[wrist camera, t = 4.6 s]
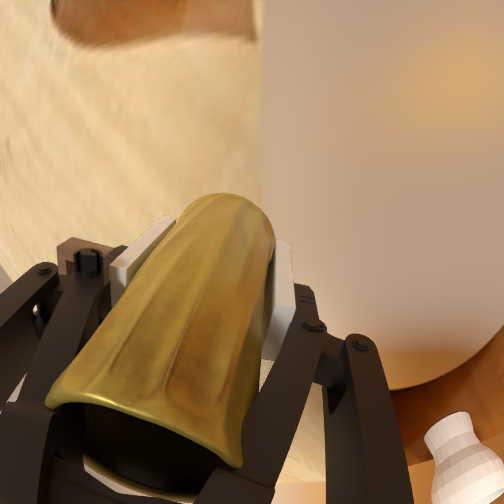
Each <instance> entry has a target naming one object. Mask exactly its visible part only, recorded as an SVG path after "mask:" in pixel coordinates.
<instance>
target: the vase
mask: <svg viewBox="0 0 504 504" xmlns="http://www.w3.org/2000/svg"><path fill="white" fill-rule="evenodd" d="M274 246H275V235H274V231H273V228H272V226H271V223H270V221H269V219H268V217H267V216H266V215H265V213H264V212H263V211H262V210H261V209H260V208H258V207H257V206H256V205H255V204H253V203H252V202H251V201H249V200H248V199H246V198H244V197H241V196H238V195H234V194H229V193H216V194H211V195H207V196H204V197H201V198H199V199H197V200H195V201H194V202H193V203H191V204H190V205H189V206H188V207H187V208H186V209H185V211H184V212H183V213H182V215H181V216H180V218H179V219H178V222H177V223H176V224H175V225H174V226H173V228H172V229H171V230H170V231H169V232H168V234H167V235H166V236H165V238H164V239H163V240H162V241H161V242H160V243H159V245H158V246H157V247H156V248H155V249H154V250H153V252H152V253H151V254H150V255H149V257H148V258H147V259H146V261H145V262H144V263H143V264H142V266H141V267H140V268H139V269H138V271H137V272H136V274H135V276H134V277H133V279H132V281H131V282H130V284H129V285H128V287H127V288H126V290H125V291H124V293H123V294H122V296H121V297H120V299H119V300H118V302H117V303H116V304H115V306H114V307H113V308H112V310H111V311H110V312H109V314H108V315H107V317H106V318H105V319H104V321H103V322H102V323H101V325H100V326H99V327H98V329H97V330H96V332H95V333H94V334H93V336H92V337H91V338H90V340H89V341H88V342H87V343H86V345H85V346H84V347H83V349H82V350H81V351H80V352H79V354H78V355H77V356H76V357H75V359H74V360H73V361H72V362H71V364H70V365H69V366H68V367H67V368H66V369H65V370H64V371H63V373H62V374H61V375H60V376H59V377H58V379H57V380H56V381H55V383H54V384H53V386H52V387H51V390H50V392H49V394H48V395H47V397H46V400H45V405H46V406H47V407H49V408H51V409H57V408H58V407H59V406H60V405H62V404H63V403H69V402H83V403H84V411H85V441H84V450H83V463H84V464H85V465H87V466H88V467H89V468H91V469H92V470H94V471H95V472H97V473H99V474H100V475H102V476H104V477H106V478H108V479H110V480H112V481H114V482H116V483H118V484H120V485H122V486H124V487H126V488H129V489H131V490H134V491H137V492H139V493H142V494H145V495H149V496H152V497H159V498H163V499H166V500H170V501H176V502H186V503H194V501H195V500H196V498H197V497H198V495H199V494H200V492H201V490H202V489H203V487H204V485H205V484H206V482H207V481H208V479H209V477H210V476H211V474H212V473H213V471H214V470H215V468H216V467H218V466H219V464H220V463H221V461H222V460H224V461H225V462H226V464H227V465H228V466H229V467H232V468H235V469H239V468H241V467H242V464H243V459H242V452H241V427H242V424H243V422H244V420H245V418H246V417H247V415H248V413H249V411H250V409H251V407H252V405H253V403H254V401H255V400H256V398H257V396H258V394H259V380H260V367H261V353H262V334H263V320H264V309H265V302H266V290H267V281H268V273H269V267H270V261H271V257H272V254H273V250H274Z"/></svg>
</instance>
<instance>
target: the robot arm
mask: <svg viewBox="0 0 504 504" xmlns="http://www.w3.org/2000/svg"><path fill="white" fill-rule="evenodd" d="M175 224H176V218H173V217H168V216H163V217H162V218H161V219H160V220H158V221H157V222H156V223H155V224H154V225H153V226H151V227H150V228H149V229H148V230H147V231H146V232H145V233H144V234H142V235H141V236H140V237H139V238H138V239H137V240H136V241H135V242H134V243H132V244H131V245H130V246H129V247H128V246H123V245H121V246H119V247H116V248H114V249H113V250H111V251H110V252H109V254H107V255H106V256H105V257H103V253H102V251H100V250H98V249H95V248H83V249H79V250H77V251H75V252H74V253H73V258H74V273H73V275H64V274H59V271H58V266H57V265H56V264H54V263H50V262H42V263H39V264H36V265H35V266H33V267H32V268H31V269H29V270H28V271H27V272H26V273H25V274H23V275H22V276H21V277H20V278H19V279H17V280H16V281H15V282H14V283H13V284H12V285H10V286H9V287H8V288H7V289H6V290H5V291H4V292H2V293H1V294H0V411H1V410H2V411H1V414H0V504H181V503H178V502H174V501H170V500H166V499H163V498H159V497H147V496H137V495H128V494H121V493H117V492H115V491H113V490H112V489H110V488H109V487H107V486H106V485H104V484H103V483H101V482H100V481H98V480H97V479H96V478H94V477H93V476H91V475H90V474H89V473H87V472H86V471H85V468H84V463H83V450H84V441H85V411H84V403H83V402H69V403H63V404H62V405H60V406H59V407H58V408H57V409H51V408H49V407H47V406H46V405H45V400H46V397H47V395H48V394H49V392H50V390H51V387H52V386H53V384H54V383H55V381H56V380H57V379H58V377H59V376H60V375H61V374H62V373H63V371H64V370H65V369H66V368H67V367H68V366H69V365H70V364H71V362H72V361H73V360H74V359H75V357H76V356H77V355H78V354H79V352H80V351H81V350H82V349H83V347H84V346H85V345H86V343H87V342H88V341H89V340H90V338H91V337H92V336H93V334H94V333H95V332H96V330H97V329H98V327H99V326H100V325H101V323H102V322H103V321H104V319H105V318H106V316H107V315H108V313H109V312H110V311H111V310H112V308H113V307H114V306H115V304H116V303H117V302H118V300H119V299H120V297H121V296H122V294H123V293H124V291H125V290H126V288H127V287H128V285H129V284H130V282H131V281H132V279H133V277H134V276H135V274H136V272H137V271H138V269H139V268H140V267H141V266H142V264H143V263H144V262H145V261H146V259H147V258H148V257H149V255H150V254H151V253H152V252H153V250H154V249H155V248H156V247H157V246H158V245H159V243H160V242H161V241H162V240H163V239H164V238H165V236H166V235H167V234H168V232H169V231H170V230H171V229H172V228H173V226H174V225H175ZM290 254H291V253H290V244H289V242H284V241H280V240H276V242H275V246H274V250H273V254H272V257H271V261H270V267H269V273H268V281H267V290H266V302H265V309H264V320H263V334H262V353H261V359H267V360H272V361H275V362H274V364H273V366H272V368H271V370H270V372H269V374H268V376H267V378H266V380H265V382H264V384H263V386H262V388H261V390H260V392H259V394H258V396H257V398H256V400H255V401H254V403H253V405H252V407H251V409H250V411H249V413H248V415H247V417H246V418H245V420H244V422H243V424H242V427H241V452H242V459H243V464H242V467H241V468H239V469H235V468H232V467H229V466H228V465H227V464H226V462H225V461H224V460H222V461H221V463H220V464H219V466H218V467H216V468H215V470H214V471H213V473H212V474H211V476H210V477H209V479H208V481H207V482H206V484H205V485H204V487H203V489H202V490H201V492H200V494H199V495H198V497H197V498H196V500H195V501H194V503H193V504H271V502H272V499H273V497H274V493H275V484H276V482H277V479H278V477H279V474H280V472H281V469H282V467H283V464H284V462H285V459H286V457H287V454H288V451H289V449H290V446H291V443H292V441H293V438H294V435H295V432H296V429H297V427H298V424H299V421H300V418H301V415H302V412H303V409H304V406H305V403H306V400H307V397H308V394H309V391H310V388H311V384H312V382H314V383H317V384H320V385H322V394H323V411H324V432H325V461H326V504H414V499H413V494H412V488H411V482H410V478H409V472H408V466H407V461H406V457H405V452H404V448H403V443H402V439H401V434H400V430H399V426H398V422H397V418H396V414H395V410H394V406H393V402H392V399H391V395H390V391H389V388H388V384H387V381H386V377H385V374H384V370H383V367H382V364H381V360H380V357H379V354H378V350H377V347H376V345H375V344H374V342H373V341H372V340H371V339H369V338H368V337H366V336H364V335H360V334H350V335H348V336H347V337H346V339H345V341H344V340H342V339H339V338H336V337H334V336H332V335H330V334H328V333H327V327H326V326H325V324H324V323H323V322H322V321H321V320H319V316H318V311H317V306H316V301H315V296H314V292H313V291H312V290H311V289H310V287H309V286H305V285H301V284H296V283H293V273H292V263H291V255H290ZM35 305H36V306H37V311H36V312H35V313H33V308H34V307H35ZM26 373H27V374H26ZM25 374H26V376H25V379H24V382H23V385H22V388H21V390H20V393H19V396H18V399H17V400H16V401H15V402H9V401H8V402H7V400H8V399H9V397H10V396H11V394H12V393H13V391H14V390H15V388H16V387H17V385H18V384H19V383H20V381H21V380H22V378H23V377H24V375H25ZM6 402H7V403H6ZM2 408H3V409H2Z"/></svg>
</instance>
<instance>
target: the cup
mask: <svg viewBox="0 0 504 504" xmlns="http://www.w3.org/2000/svg"><path fill="white" fill-rule="evenodd" d="M424 441H425V443H426V445H427V447H428V449H429V450H430V452H431V454H432V455H433V457H434V463H435V469H436V471H435V475H434V479H433V483H432V496H431V499H432V503H433V504H489V503H490V502H492V501H493V500H495V499H496V498H497V497H499V496H500V495H501V494H502V493H503V492H504V465H503V462H502V460H501V459H500V458H499V457H498V456H497V455H496V454H495V453H494V452H493V451H492V450H491V449H489V448H487V447H485V446H484V445H482V444H481V443H480V441H479V440H478V438H477V437H476V435H475V434H474V430H473V426H472V422H471V419H470V416H469V414H468V412H457V413H454V414H451V415H449V416H447V417H445V418H443V419H442V420H440V421H439V422H437V423H436V424H435V425H433V426H432V427H431V428H430V429H429V430H428V431H427V433H426V434H425V437H424Z"/></svg>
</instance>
